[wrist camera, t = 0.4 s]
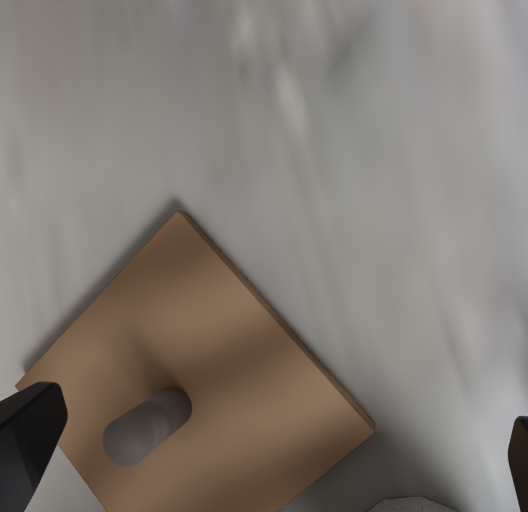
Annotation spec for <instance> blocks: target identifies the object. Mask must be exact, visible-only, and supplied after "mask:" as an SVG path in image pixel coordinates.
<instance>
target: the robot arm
mask: <svg viewBox="0 0 528 512" xmlns="http://www.w3.org/2000/svg"><path fill="white" fill-rule="evenodd" d="M67 420H68V410H67V407H66V403H65V400H64V396H63V392H62V389H61V386H60V385H59V384H58V383H56V382H48V381H39V382H36V383H34V384H32V385H30V386H28V387H27V388H25V389H23V390H21V391H19V392H17V393H15V394H13V395H11V396H10V397H8V398H6V399H4V400H2V401H0V512H24V511H25V509H26V507H27V506H28V504H29V502H30V500H31V498H32V496H33V495H34V493H35V491H36V489H37V487H38V485H39V483H40V481H41V478H42V476H43V474H44V472H45V470H46V467H47V465H48V463H49V461H50V459H51V457H52V454H53V452H54V450H55V448H56V446H57V443H58V441H59V439H60V437H61V435H62V433H63V430H64V428H65V426H66V423H67ZM508 461H509V466H510V470H511V474H512V478H513V482H514V486H515V490H516V495H517V499H518V503H519V507H520V511H521V512H528V416H519V417H517V418H516V420H515V422H514V426H513V430H512V435H511V439H510V443H509V448H508Z"/></svg>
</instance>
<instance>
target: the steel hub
mask: <svg viewBox="0 0 528 512" xmlns="http://www.w3.org/2000/svg"><path fill="white" fill-rule="evenodd" d="M368 512H458V511H456V510H453V509H451V508H449V507H446V506H444V505H441V504H439V503H437V502H434V501H432V500H429V499H427V498H425V497H422V496H418V497H406V498H395V499H384V500H382V501H381V502H380V503H378V504H377V505H376V506H375V507H373V508H372V509H371V510H369V511H368Z"/></svg>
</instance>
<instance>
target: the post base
mask: <svg viewBox="0 0 528 512" xmlns="http://www.w3.org/2000/svg"><path fill="white" fill-rule="evenodd" d="M39 381H48V382H56V383H58V384H59V385H60V386H61V389H62V392H63V396H64V400H65V403H66V407H67V410H68V420H67V423H66V426H65V428H64V430H63V433H62V435H61V437H60V439H59V441H58V443H57V444H58V445H59V447H60V448H61V450H62V451H63V452H64V454H65V455H66V456H67V458H68V459H69V460H70V462H71V463H72V465H73V466H74V467H75V469H76V470H77V471H78V473H79V474H80V475H81V477H82V478H83V480H84V481H85V482H86V484H87V485H88V486H89V488H90V489H91V490H92V492H93V493H94V495H95V496H96V497H97V499H98V500H99V501H100V503H101V504H102V505H103V507H104V508H105V510H106V511H107V512H277V511H279V510H280V509H281V508H282V507H284V506H285V505H286V504H287V503H288V502H290V501H291V500H292V499H293V498H295V497H296V496H297V495H298V494H300V493H301V492H302V491H303V490H305V489H306V488H307V487H308V486H309V485H311V484H312V483H313V482H314V481H316V480H317V479H318V478H319V477H321V476H322V475H323V474H324V473H326V472H327V471H328V470H329V469H330V468H332V467H333V466H334V465H335V464H337V463H338V462H339V461H340V460H342V459H343V458H344V457H345V456H346V455H348V454H349V453H350V452H351V451H353V450H354V449H355V448H356V447H358V446H359V445H360V444H361V443H363V442H364V441H365V440H366V439H367V438H369V437H370V436H371V435H372V434H374V433H375V426H376V424H375V423H374V422H373V421H372V420H371V418H370V417H369V416H368V415H367V414H366V413H365V412H364V411H363V410H362V408H361V407H360V406H359V405H358V404H357V403H356V402H355V401H354V399H353V398H352V397H351V396H350V395H349V394H348V393H347V392H346V390H345V389H344V388H343V387H342V386H341V385H340V384H339V383H338V382H337V380H336V379H335V378H334V377H333V376H332V375H331V374H330V373H329V371H328V370H327V369H326V368H325V367H324V366H323V365H322V364H321V362H320V361H319V360H318V359H317V358H316V357H315V356H314V355H313V354H312V352H311V351H310V350H309V349H308V348H307V347H306V346H305V345H304V343H303V342H302V341H301V340H300V339H299V338H298V337H297V336H296V334H295V333H294V332H293V331H292V330H291V329H290V328H289V327H288V326H287V324H286V323H285V322H284V321H283V320H282V319H281V318H280V317H279V315H278V314H277V313H276V312H275V311H274V310H273V309H272V308H271V306H270V305H269V304H268V303H267V302H266V301H265V300H264V299H263V298H262V296H261V295H260V294H259V293H258V292H257V291H256V290H255V289H254V287H253V286H252V285H251V284H250V283H249V282H248V281H247V280H246V278H245V277H244V276H243V275H242V274H241V273H240V272H239V271H238V270H237V268H236V267H235V266H234V265H233V264H232V263H231V262H230V261H229V259H228V258H227V257H226V256H225V255H224V254H223V253H222V252H221V250H220V249H219V248H218V247H217V246H216V245H215V244H214V243H213V241H212V240H211V239H210V238H209V237H208V236H207V235H206V234H205V233H204V231H203V230H202V229H201V228H200V227H199V226H198V225H197V224H196V222H195V221H194V220H193V219H192V218H191V217H190V216H189V215H188V213H187V212H183V211H177V212H176V213H175V214H174V215H173V216H172V217H171V218H170V219H169V220H168V221H167V223H166V224H165V225H164V226H163V227H162V228H161V229H160V230H159V231H158V232H157V233H156V234H155V235H154V237H153V238H152V239H151V240H150V241H149V242H148V243H147V244H146V245H145V246H144V247H143V248H142V249H141V250H140V252H139V253H138V254H137V255H136V256H135V257H134V258H133V259H132V260H131V261H130V262H129V263H128V264H127V266H126V267H125V268H124V269H123V270H122V271H121V272H120V273H119V274H118V275H117V276H116V277H115V278H114V280H113V281H112V282H111V283H110V284H109V285H108V286H107V287H106V288H105V289H104V290H103V291H102V292H101V294H100V295H99V296H98V297H97V298H96V299H95V300H94V301H93V302H92V303H91V304H90V305H89V306H88V307H87V309H86V310H85V311H84V312H83V313H82V314H81V315H80V316H79V317H78V318H77V319H76V320H75V321H74V323H73V324H72V325H71V326H70V327H69V328H68V329H67V330H66V331H65V332H64V333H63V334H62V335H61V337H60V338H59V339H58V340H57V341H56V342H55V343H54V344H53V345H52V346H51V347H50V348H49V349H48V351H47V352H46V353H45V354H44V355H43V356H42V357H41V358H40V359H39V360H38V361H37V362H36V363H35V364H34V366H33V367H32V368H31V369H30V370H29V371H28V372H27V373H26V374H25V375H24V376H23V377H22V378H21V380H20V381H19V382H18V383H17V384H16V385H15V387H16V388H17V390H18V391H21V390H23V389H25V388H27V387H28V386H30V385H32V384H34V383H36V382H39Z"/></svg>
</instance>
